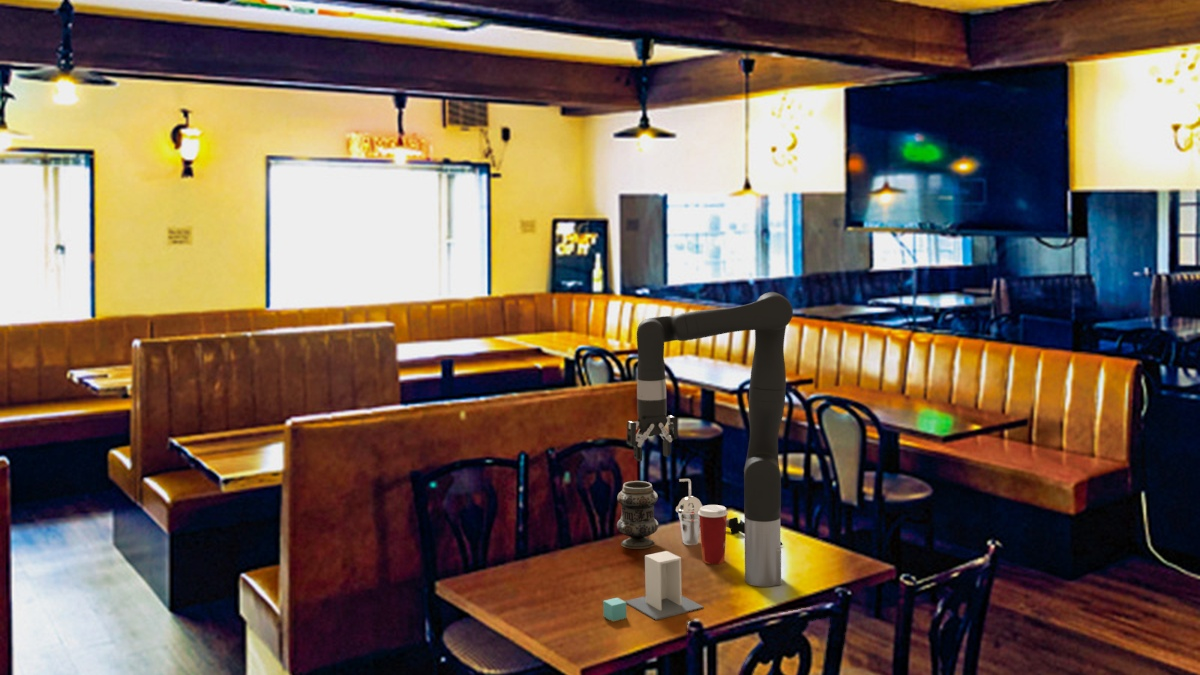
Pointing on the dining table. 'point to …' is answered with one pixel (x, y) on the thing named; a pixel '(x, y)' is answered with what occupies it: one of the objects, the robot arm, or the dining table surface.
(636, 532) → the apothecary jar
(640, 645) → the dining table surface
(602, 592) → the dining table surface
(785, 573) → the dining table surface
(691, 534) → the cup with straw
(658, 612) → the mat
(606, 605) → the block
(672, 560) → the cream rectangular box
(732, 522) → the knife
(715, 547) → the coffee cup
